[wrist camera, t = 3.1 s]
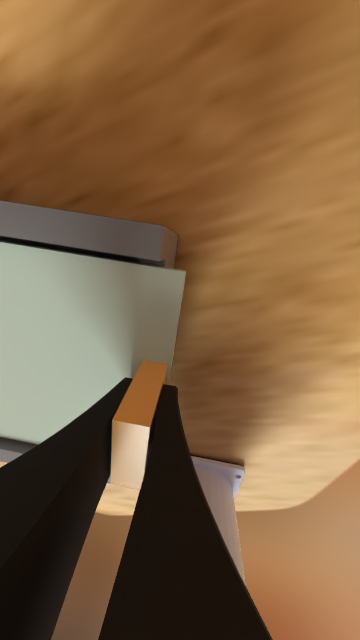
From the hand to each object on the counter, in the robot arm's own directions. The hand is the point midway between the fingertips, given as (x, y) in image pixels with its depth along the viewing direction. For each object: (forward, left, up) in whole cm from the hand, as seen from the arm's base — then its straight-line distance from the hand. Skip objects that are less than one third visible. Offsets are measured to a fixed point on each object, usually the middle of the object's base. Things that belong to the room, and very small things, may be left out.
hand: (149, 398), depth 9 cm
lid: (0, +8, -1) cm, 8 cm away
